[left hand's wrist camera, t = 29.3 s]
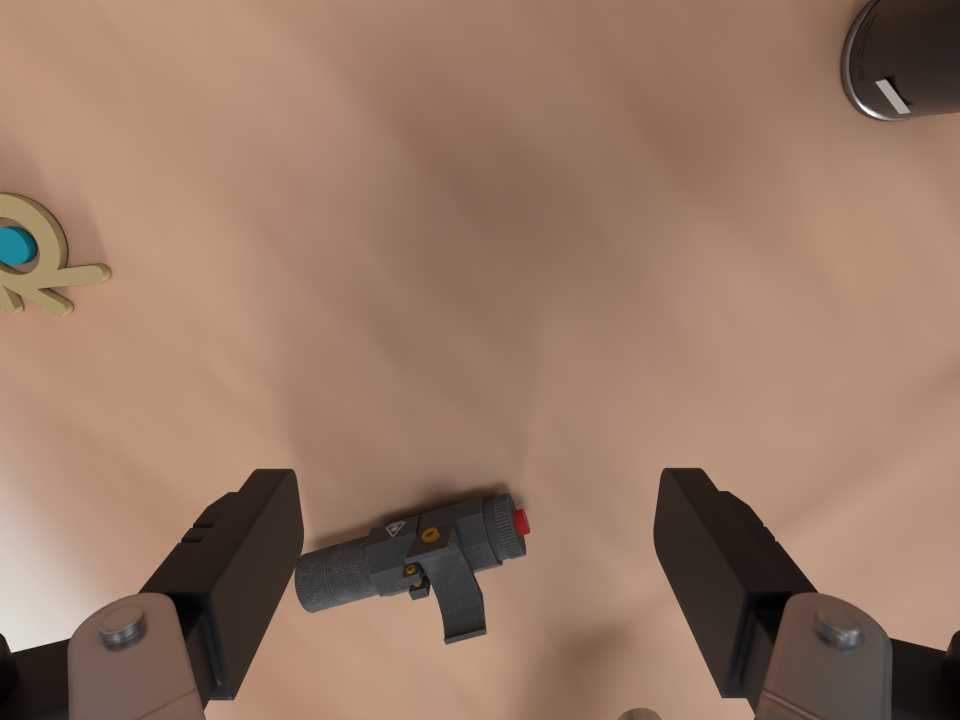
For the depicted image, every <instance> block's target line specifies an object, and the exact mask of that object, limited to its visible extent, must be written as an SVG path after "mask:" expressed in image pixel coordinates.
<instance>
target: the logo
mask: <svg viewBox="0 0 960 720" xmlns="http://www.w3.org/2000/svg"><path fill="white" fill-rule="evenodd" d="M1 217H6V218H10V219H13V220H15V221H17V222H19V223H21V224H22V225H23V226H25V227H26V228H27V229H28V230H29V231H30V232H31V233H32V235H33V236H34V237H35V239H36V241H37V243H38V246H39V250H40V260H39V263H38V265H37V267H36V268H35V269H34V270H33V271H32V272H30V273H21V272H17V271H15V270H12V269H11V268H9V267H7V266H6V265H4V264H3V263H2V262H4V263H6V264H10V265H18V264H23V263H27V262H29V261H31V260H32V259H33V258H34V256H35V253H36V247H35V243H34V241H33V239H32V238H31V236H30V235H29V234H28V233H27V232H26V231H24V230H22V229H21V228H18V227H5V228H0V260H1V261H2V262H1V261H0V307H1V309H2V310H3V311H4V312H5V313H7V314H14V313H17V312H20V311H22V309H23V305H22V303H21V301H20V299H19V297H18V295H17V293H18V294H19V295H21V296H23V297H25V298H26V299H28V300H30V301H32V302H34V303H35V304H37V305H39V306H41V307H43V308H44V309H46V310H48V311H50V312H51V313H53V314H55V315H57V316H62V315H65V314H67V313H70V312H71V311H72V309H73V306H72V303H71V302H69V301H68V300H66V299H64V298H63V297H61V296H59V295H57V294H55V293H54V292H52V291H50V290H49V289H47V288H49V287H60V286H73V285H84V284H92V283H98V282H101V281H105V280H107V279H108V278H109V276H110V270H109V268H108V267H106V266H105V265H103V264H92V265H83V266H75V267H69V268H65V265H66V261H67V246H66V241H65V238H64V235H63V232H62V230H61V228H60V226H59V225H58V223H57V222H56V221H55V219H54V218H53V217H52V216H51V215H50V213H49V212H48V211H47V210H45V209H44V208H43V207H42V206H40V205H39V204H37V203H36V202H34V201H32V200H31V199H28V198H26V197H23V196H20V195H16V194H10V193H0V218H1Z"/></svg>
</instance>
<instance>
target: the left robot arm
mask: <svg viewBox="0 0 960 720" xmlns="http://www.w3.org/2000/svg"><path fill="white" fill-rule="evenodd" d="M841 72H842V81H843V85H844V89H845V91H846V94H847V96H848V98H849V100H850V101H851V102H852V104H853V105H854V106H855V107H856V108H857V109H858V110H859V111H860V112H861V113H863V114H864V115H866V116H868V117H870V118H873V119H876V120H880V121H899V120H907V119H912V118H915V117H922V116H930V115H941V114H950V113H958V112H960V0H872V1H871V2H870V3H869V4H868V5H867V6H866V7H865V8H864V10H863V11H862V12H861V13H860V15H859V16H858V18H857V19H856V21H855V23H854V24H853V26H852V28H851V30H850V32H849V35H848V37H847V40H846V43H845V46H844V50H843V55H842V65H841ZM653 533H654V545H655V550H656V553H657V556H658V559H659V561H660V563H661V565H662V568H663V570H664V572H665V574H666V576H667V579H668V581H669V583H670V585H671V587H672V589H673V592H674V594H675V596H676V598H677V600H678V603H679V605H680V607H681V609H682V611H683V614H684V616H685V618H686V620H687V622H688V625H689V627H690V629H691V631H692V633H693V635H694V638H695V640H696V642H697V644H698V646H699V649H700V651H701V653H702V655H703V657H704V660H705V662H706V664H707V666H708V668H709V671H710V673H711V675H712V677H713V679H714V681H715V684H716V686H717V688H718V690H719V692H720V695H721V697H722V698H747V700H748V702H749V704H750V706H751V708H752V710H753V712H754V714H755V718H754V720H960V630H959V631H957V632H956V633H955V634H954V635H953V637H952V639H951V642H950V644H949V647H948V649H947V651H942V650H938V649H934V648H930V647H925V646H921V645H917V644H913V643H909V642H905V641H901V640H897V639H892V638H889V637H888V635H887V634H886V632H885V631H884V630H883V628H882V627H881V626H880V625H879V624H878V623H877V622H876V621H875V620H874V619H873V618H872V617H870V616H869V615H868V614H867V613H865V612H864V611H862V610H861V609H859V608H857V607H856V606H854V605H852V604H850V603H848V602H846V601H844V600H841V599H839V598H836V597H833V596H829V595H825V594H820V593H818V591H817V590H816V589H815V588H814V586H813V585H812V584H811V583H810V581H809V580H808V579H807V578H806V576H805V575H804V574H803V573H802V571H801V570H800V569H799V567H798V566H797V565H796V564H795V562H794V561H793V560H792V559H791V557H790V556H789V555H788V554H787V552H786V551H785V550H784V549H783V547H782V546H781V545H780V544H779V542H775V537H774V536H773V535H772V534H771V532H770V531H769V530H768V529H767V527H764V526H763V522H762V521H761V520H760V519H759V517H758V516H757V515H756V514H755V512H754V511H753V510H752V509H751V507H750V506H749V505H747V504H746V503H744V502H743V501H741V500H740V499H739V498H737V497H736V496H734V495H733V494H731V493H730V492H728V491H718V489H717V488H716V487H715V485H714V484H713V483H712V481H711V480H710V478H709V477H708V476H707V474H706V473H705V472H704V471H703V470H702V469H701V468H665V469H664V470H663V471H662V474H661V478H660V485H659V492H658V499H657V507H656V514H655V521H654V532H653ZM303 541H304V527H303V520H302V512H301V505H300V498H299V491H298V484H297V478H296V474H295V472H294V470H293V469H256V470H254V471H253V473H252V474H251V475H250V477H249V478H248V479H247V481H246V482H245V483H244V485H243V486H242V487H241V489H240V490H239V491H238V492H229V493H227V494H226V495H224V496H223V497H221V498H220V499H218V500H217V501H215V502H214V503H212V504H211V505H210V506H208V507H207V508H206V509H205V510H204V512H203V513H202V514H201V515H200V517H199V518H198V519H197V520H196V522H195V523H194V524H193V528H190V529H189V530H188V532H187V533H186V534H185V535H184V537H183V538H182V539H181V543H178V544H177V545H176V546H175V548H174V549H173V550H172V551H171V553H170V554H169V555H168V556H167V558H166V559H165V560H164V561H163V563H162V564H161V565H160V566H159V568H158V569H157V570H156V571H155V573H154V574H153V575H152V576H151V578H150V579H149V580H148V581H147V583H146V584H145V585H144V586H143V588H142V589H141V590H140V591H139V592H138V594H135V595H131V596H127V597H124V598H121V599H119V600H116V601H114V602H112V603H110V604H108V605H106V606H104V607H103V608H101V609H99V610H98V611H96V612H95V613H93V614H92V615H91V616H90V617H88V618H87V619H86V620H85V621H84V622H83V623H82V624H81V625H80V626H79V627H78V628H77V630H76V631H75V632H74V634H73V635H72V637H71V638H70V639H66V640H63V641H59V642H55V643H51V644H46V645H42V646H38V647H34V648H30V649H26V650H22V651H18V652H13V653H11V651H10V649H9V646H8V644H7V642H6V639H5V637H4V636H3V635H2V634H0V720H206V718H205V714H204V710H205V708H206V706H207V704H208V702H209V700H234V699H235V697H236V695H237V693H238V690H239V688H240V686H241V684H242V682H243V680H244V677H245V675H246V673H247V671H248V669H249V667H250V664H251V662H252V660H253V658H254V656H255V654H256V651H257V649H258V647H259V645H260V643H261V641H262V638H263V636H264V634H265V632H266V630H267V628H268V625H269V623H270V621H271V619H272V617H273V615H274V612H275V610H276V608H277V606H278V604H279V602H280V600H281V597H282V595H283V593H284V591H285V589H286V587H287V584H288V582H289V580H290V578H291V576H292V574H293V571H294V569H295V567H296V565H297V563H298V561H299V558H300V555H301V552H302V548H303Z"/></svg>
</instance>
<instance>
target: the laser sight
mask: <svg viewBox="0 0 960 720" xmlns="http://www.w3.org/2000/svg"><path fill="white" fill-rule="evenodd" d="M529 533H530V528H529V524H528V520H527V517H526V514H525V511H524V509H520V510H516V507H515V504H514V502H513V500H512V498H511V496H510V494H509V493H507V494H503V495H500V496H496V497H494V499H491V500H488V501H487V500H486V499H484V498H483V497H478V498H475V499H471V500H468V501H464V502H461V503H458V504H454V505H451V506H447V507H444V508H441V509H437V510H434V511H430V512H427V513H424V514H420V515H417V516H413V517H410V518H407V519H403V520H400V521H396V522H393V523H390V524H386V525H383V526H379V527H376V528H373V529H371V530H370V534H369V536H365V537H361V538H357V539H354V540H351V541H348V542H345V543H341V544H337V545H333V546H331V547H328V548H324V549H321V550H317V551H314V552H310V553H306V554H303V555H302V556H301V557H300V558H299V561H298V563H297V565H296V569H295V588H296V593H297V596H298V599H299V601H300V603H301V605H302V607H303V608H304V609H305V610H306V611H308V612H310V613H314V612H317V611H320V610H324V609H328V608H331V607H335V606H339V605H343V604H346V603H350V602H353V601H356V600H360V599H364V598H368V597H372V596H375V595H378V594H379V595H380V596H392V595H396V594H400V593H403V592H407V591H409V594H410V596H411V598H412V600H416V599H420V598H423V597H427V596H429V591H430V585H432V587H433V590H434V592H435V595H436V597H437V600H438V603H439V607H440V610H441V614H442V619H443V625H444V636H445V638H444V642H445V644H450V643H454V642H458V641H462V640H465V639H469V638H473V637H477V636H481V635H485V634H487V633H486V623H485V613H484V602H483V594H482V592H481V589H480V587H479V585H478V583H477V580H476V578H475V576H474V573H476V572H479V571H483V570H486V569H490V568H494V567H497V566H501V565H503V563H502V560H505V559H509V558H510V559H514V558H517V557H521V556H525V555H526V546H525V539H524V535H525V534H529Z"/></svg>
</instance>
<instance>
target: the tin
mask: <svg viewBox="0 0 960 720" xmlns="http://www.w3.org/2000/svg"><path fill="white" fill-rule="evenodd" d="M618 720H661V718H660V716H659V715H658V714H657V713H656V712H654V711H652V710H650V709H645V708H637V709H632V710H629V711H627V712H625V713H623V714H622V715H621V716H620V717H619V718H618Z"/></svg>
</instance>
